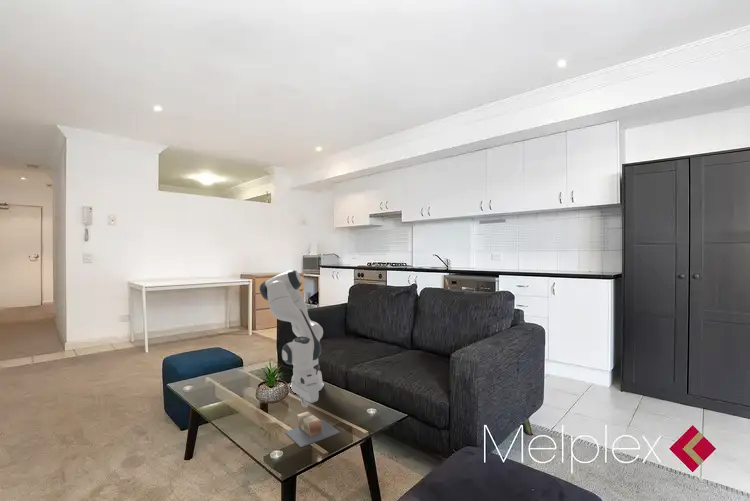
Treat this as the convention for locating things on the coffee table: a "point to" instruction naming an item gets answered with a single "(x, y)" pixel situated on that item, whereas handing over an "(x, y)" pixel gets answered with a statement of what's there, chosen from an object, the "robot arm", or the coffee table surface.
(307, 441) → the rubber mat
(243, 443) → the coffee table surface
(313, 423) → the birch block
